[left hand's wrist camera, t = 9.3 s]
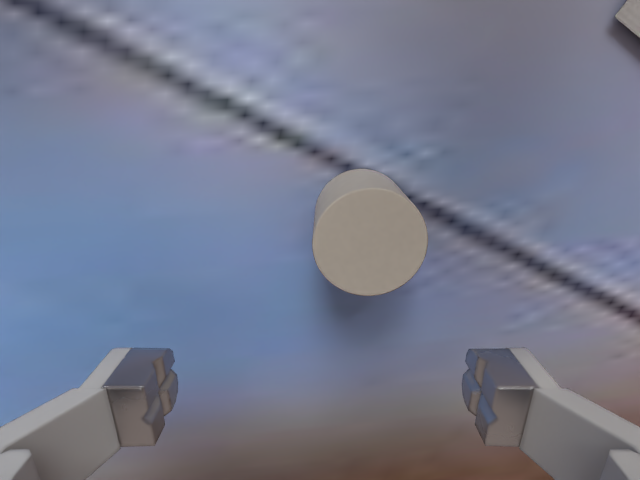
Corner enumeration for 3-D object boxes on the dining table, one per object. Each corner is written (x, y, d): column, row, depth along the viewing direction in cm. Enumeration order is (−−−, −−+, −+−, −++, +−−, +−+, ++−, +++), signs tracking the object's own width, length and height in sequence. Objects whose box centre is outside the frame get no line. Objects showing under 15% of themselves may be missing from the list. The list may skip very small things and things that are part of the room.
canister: (424, 208, 19) (452, 238, 14) (363, 271, 20) (374, 316, 16) (355, 149, 18) (365, 162, 13) (296, 219, 19) (288, 251, 15)
